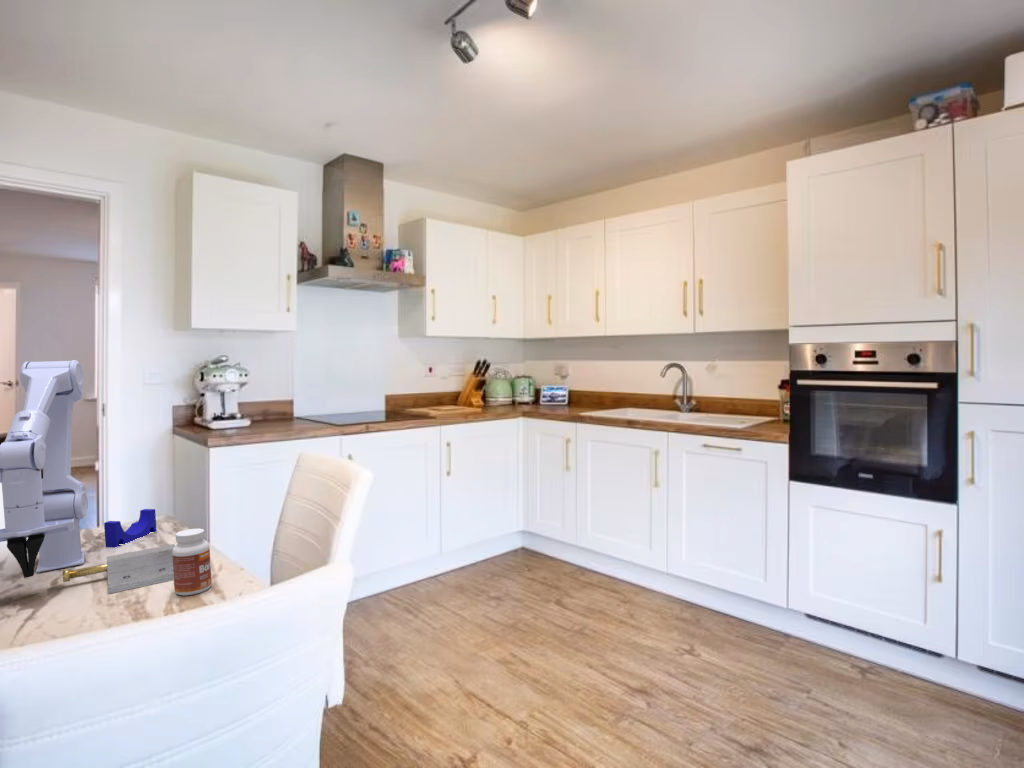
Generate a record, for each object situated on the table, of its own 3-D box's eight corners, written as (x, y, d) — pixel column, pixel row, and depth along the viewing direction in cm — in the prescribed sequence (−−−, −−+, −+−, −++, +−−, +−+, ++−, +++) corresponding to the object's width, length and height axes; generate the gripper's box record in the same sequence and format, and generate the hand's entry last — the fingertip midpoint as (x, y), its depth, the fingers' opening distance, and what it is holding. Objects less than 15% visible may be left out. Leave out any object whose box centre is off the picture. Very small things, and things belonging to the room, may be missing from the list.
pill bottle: (206, 594, 108) (203, 535, 107) (169, 598, 106) (166, 538, 106) (215, 581, 114) (212, 525, 113) (180, 585, 112) (177, 528, 112)
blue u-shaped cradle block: (141, 531, 149) (139, 508, 149) (156, 532, 148) (155, 509, 148) (100, 547, 138) (98, 522, 137) (116, 548, 137) (115, 523, 136)
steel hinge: (108, 593, 109) (107, 573, 109) (107, 564, 125) (105, 546, 125) (181, 577, 116) (180, 558, 116) (171, 552, 132) (170, 535, 132)
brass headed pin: (63, 583, 112) (62, 572, 112) (63, 580, 114) (63, 568, 114) (143, 567, 120) (142, 556, 120) (142, 564, 122) (141, 553, 121)
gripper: (-33, 516, 102) (-27, 592, 103) (71, 501, 110) (76, 572, 111) (-26, 508, 108) (-20, 580, 108) (72, 495, 116) (77, 562, 117)
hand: (29, 575), depth 110 cm, fingers closed
